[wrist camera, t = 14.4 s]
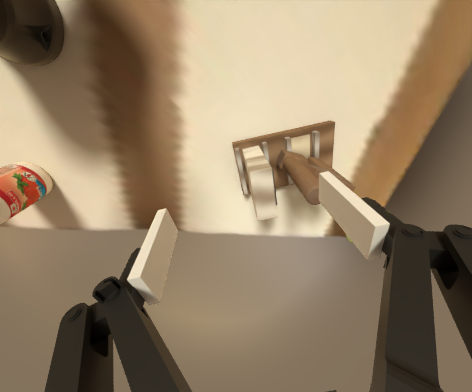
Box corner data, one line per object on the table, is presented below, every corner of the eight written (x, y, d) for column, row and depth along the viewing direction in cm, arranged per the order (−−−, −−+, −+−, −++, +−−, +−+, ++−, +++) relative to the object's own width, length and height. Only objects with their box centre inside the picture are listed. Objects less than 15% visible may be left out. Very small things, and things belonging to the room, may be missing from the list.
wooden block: (314, 172, 48) (358, 215, 33) (275, 162, 46) (301, 203, 31) (321, 159, 47) (371, 197, 31) (280, 148, 45) (312, 183, 29)
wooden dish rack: (232, 142, 47) (236, 167, 33) (330, 120, 46) (377, 137, 32) (242, 190, 54) (249, 228, 40) (327, 173, 53) (364, 205, 39)
